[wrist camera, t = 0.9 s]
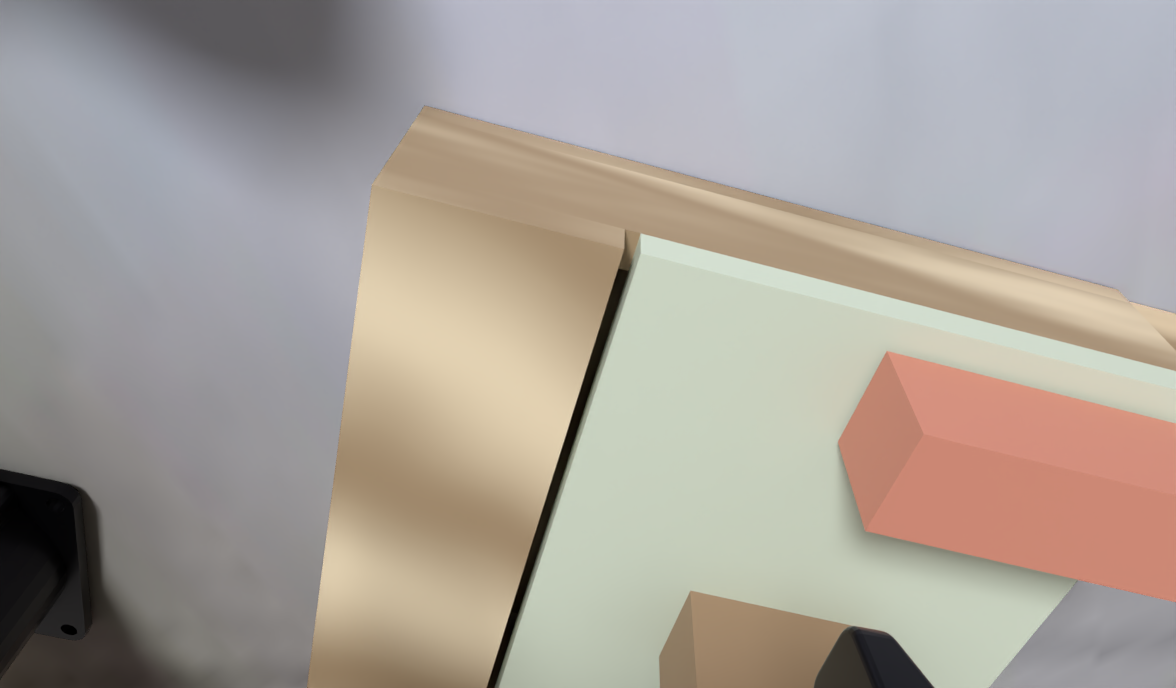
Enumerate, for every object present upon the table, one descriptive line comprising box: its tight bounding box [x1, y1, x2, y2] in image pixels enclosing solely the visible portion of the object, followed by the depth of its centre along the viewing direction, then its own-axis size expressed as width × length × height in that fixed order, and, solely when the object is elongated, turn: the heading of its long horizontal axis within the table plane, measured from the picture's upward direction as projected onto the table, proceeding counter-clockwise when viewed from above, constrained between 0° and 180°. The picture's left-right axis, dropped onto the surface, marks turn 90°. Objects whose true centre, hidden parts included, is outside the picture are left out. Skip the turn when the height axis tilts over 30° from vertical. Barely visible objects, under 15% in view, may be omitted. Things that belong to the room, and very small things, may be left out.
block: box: [838, 351, 1176, 602], centre depth 16 cm, size 2×6×2 cm, turn 75°
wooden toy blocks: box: [307, 106, 1176, 688], centre depth 22 cm, size 15×24×4 cm, turn 75°
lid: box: [494, 234, 1176, 688], centre depth 18 cm, size 15×11×6 cm
